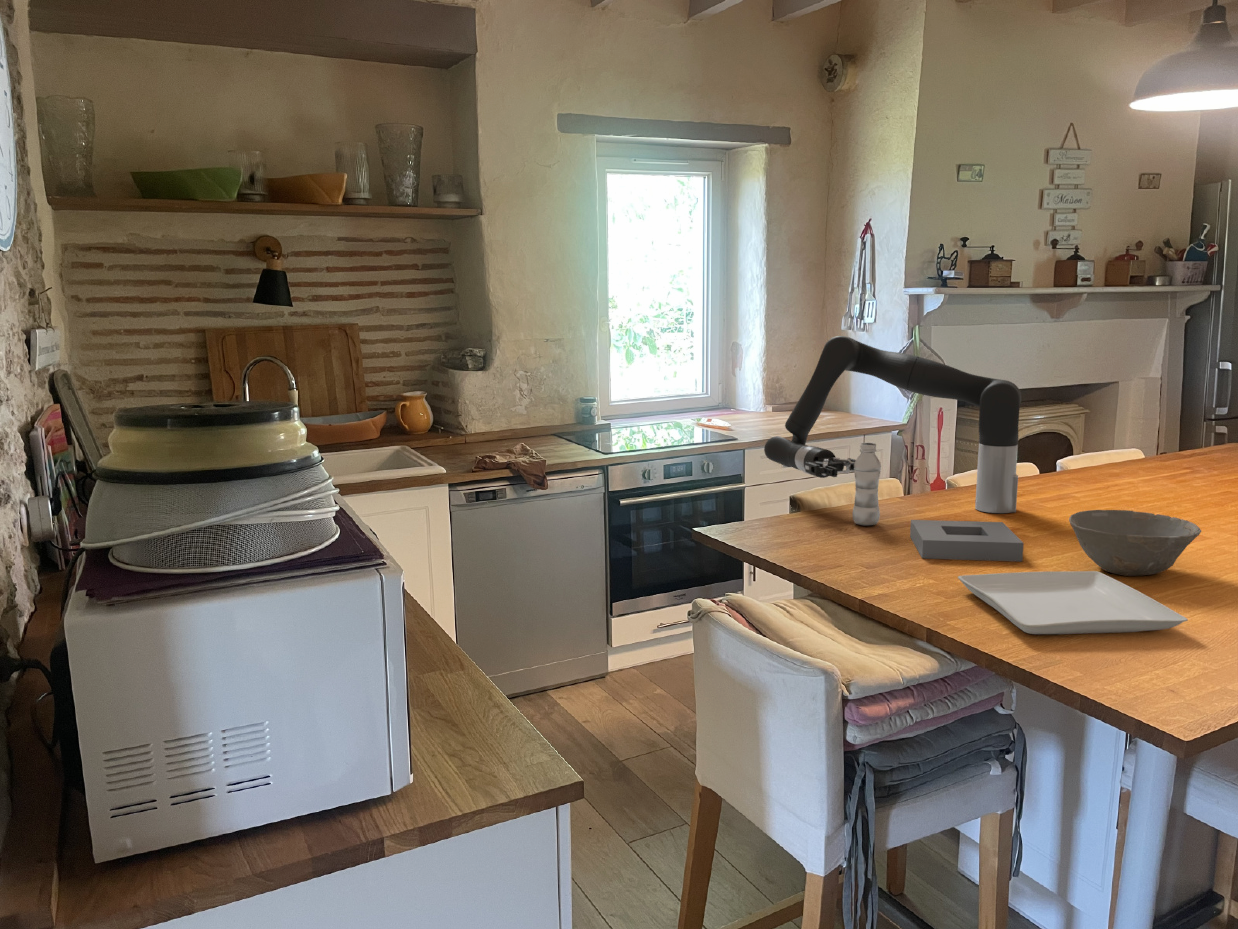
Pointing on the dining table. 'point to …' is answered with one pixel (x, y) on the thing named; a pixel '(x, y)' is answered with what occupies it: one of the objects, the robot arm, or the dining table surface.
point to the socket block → (965, 540)
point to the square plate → (1070, 602)
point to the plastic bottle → (866, 486)
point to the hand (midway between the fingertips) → (851, 471)
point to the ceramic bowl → (1132, 540)
